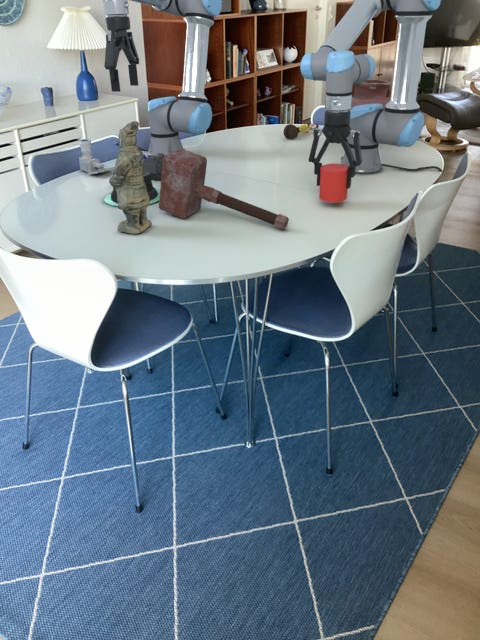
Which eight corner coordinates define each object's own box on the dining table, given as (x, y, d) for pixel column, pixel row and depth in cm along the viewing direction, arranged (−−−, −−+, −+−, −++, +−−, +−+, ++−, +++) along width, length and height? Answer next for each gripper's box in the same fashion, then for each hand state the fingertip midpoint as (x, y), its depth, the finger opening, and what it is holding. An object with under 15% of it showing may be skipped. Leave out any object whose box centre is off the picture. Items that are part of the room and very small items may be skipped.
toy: (139, 150, 209) (172, 153, 203) (141, 172, 213) (174, 177, 207) (125, 155, 202) (159, 159, 196) (128, 178, 206) (161, 183, 200)
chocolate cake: (91, 202, 180) (113, 186, 197) (142, 231, 182) (160, 212, 199) (107, 162, 172) (129, 148, 190) (160, 192, 174) (177, 176, 192)
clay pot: (397, 133, 263) (404, 75, 251) (402, 148, 238) (410, 85, 225) (333, 131, 268) (336, 75, 256) (330, 146, 243) (334, 85, 230)
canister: (316, 194, 179) (317, 164, 174) (342, 192, 179) (344, 162, 174) (323, 203, 171) (324, 172, 166) (350, 201, 172) (352, 170, 167)
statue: (131, 220, 168) (117, 116, 152) (158, 224, 164) (147, 118, 149) (109, 233, 159) (93, 124, 144) (138, 237, 156) (124, 126, 140)
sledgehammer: (299, 190, 156) (179, 147, 167) (285, 200, 148) (161, 154, 160) (286, 244, 166) (174, 200, 177) (272, 256, 158) (156, 209, 170)
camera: (89, 136, 215) (112, 142, 207) (93, 167, 222) (116, 174, 213) (70, 140, 210) (93, 147, 201) (75, 171, 216) (97, 179, 207)
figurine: (325, 121, 268) (300, 123, 249) (324, 137, 271) (299, 140, 252) (301, 118, 274) (275, 120, 255) (300, 134, 277) (274, 137, 258)
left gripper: (109, 17, 163) (118, 94, 174) (144, 14, 184) (151, 83, 194) (86, 17, 165) (97, 93, 176) (124, 14, 186) (131, 82, 196)
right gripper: (298, 111, 162) (297, 186, 174) (372, 114, 155) (365, 192, 167) (305, 106, 168) (303, 179, 180) (377, 109, 161) (370, 185, 173)
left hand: (125, 88), depth 185 cm, fingers open, 13 cm apart
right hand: (333, 185), depth 173 cm, fingers closed on canister, 9 cm apart
